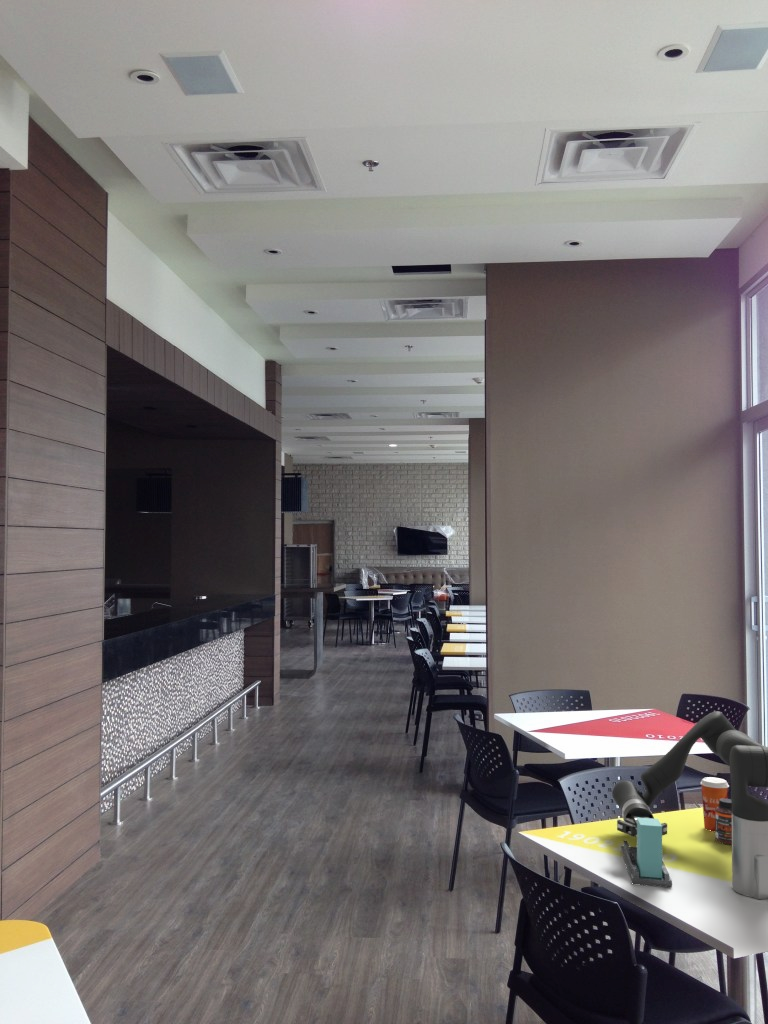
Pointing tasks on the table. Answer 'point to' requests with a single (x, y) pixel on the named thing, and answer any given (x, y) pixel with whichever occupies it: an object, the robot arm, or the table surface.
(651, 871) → the teal block
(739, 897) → the table surface
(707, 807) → the paper cup
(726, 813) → the supplement bottle
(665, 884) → the charcoal chute
